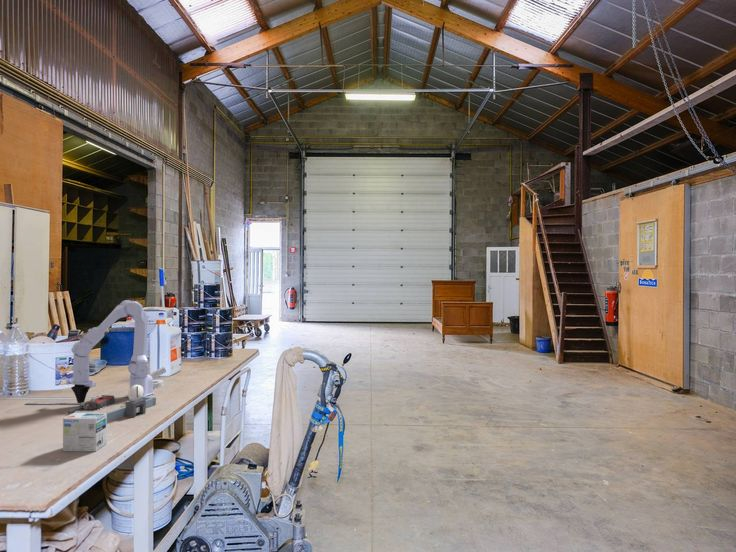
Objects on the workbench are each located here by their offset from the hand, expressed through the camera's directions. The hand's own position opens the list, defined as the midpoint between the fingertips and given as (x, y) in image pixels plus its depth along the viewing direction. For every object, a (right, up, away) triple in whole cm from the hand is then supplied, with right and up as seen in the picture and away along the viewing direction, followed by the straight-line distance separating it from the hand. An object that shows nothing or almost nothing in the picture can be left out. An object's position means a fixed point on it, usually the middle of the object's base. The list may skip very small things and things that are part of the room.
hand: (80, 402), depth 193 cm
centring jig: (+21, -2, -8) cm, 23 cm away
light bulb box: (+29, -3, -44) cm, 53 cm away
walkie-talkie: (+6, -2, -2) cm, 7 cm away
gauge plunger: (+25, -1, -9) cm, 27 cm away
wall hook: (+16, -2, +34) cm, 37 cm away
